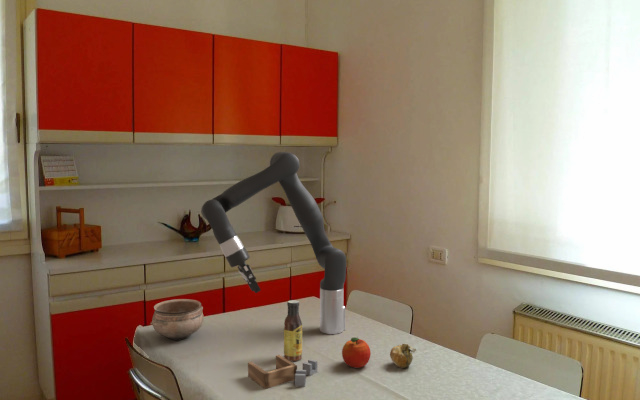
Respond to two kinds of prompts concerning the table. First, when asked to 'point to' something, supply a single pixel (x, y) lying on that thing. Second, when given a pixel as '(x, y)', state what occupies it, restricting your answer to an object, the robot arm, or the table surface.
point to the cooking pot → (177, 318)
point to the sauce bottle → (293, 332)
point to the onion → (402, 355)
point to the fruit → (356, 353)
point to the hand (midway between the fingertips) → (256, 290)
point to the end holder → (273, 373)
